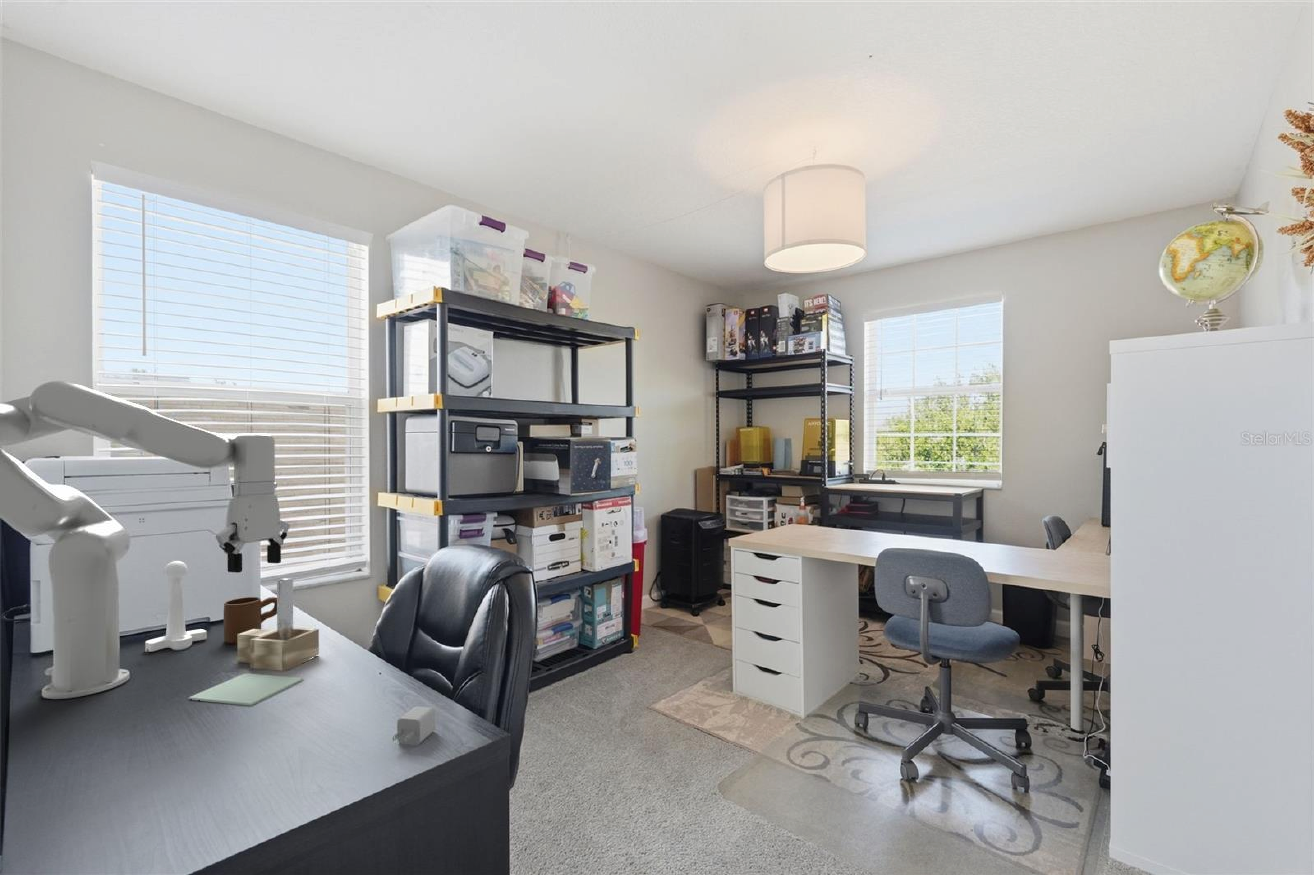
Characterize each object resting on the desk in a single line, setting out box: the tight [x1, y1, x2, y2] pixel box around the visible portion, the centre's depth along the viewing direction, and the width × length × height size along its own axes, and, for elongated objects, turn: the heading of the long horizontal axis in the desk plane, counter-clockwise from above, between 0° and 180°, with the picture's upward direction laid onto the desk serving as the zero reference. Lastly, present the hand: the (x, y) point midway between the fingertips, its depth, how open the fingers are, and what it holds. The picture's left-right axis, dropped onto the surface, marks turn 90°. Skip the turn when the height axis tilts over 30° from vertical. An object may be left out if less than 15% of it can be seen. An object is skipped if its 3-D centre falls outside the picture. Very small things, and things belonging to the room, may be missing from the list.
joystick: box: [144, 560, 208, 653], centre depth 143 cm, size 11×8×20 cm
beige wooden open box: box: [237, 627, 320, 672], centre depth 132 cm, size 15×9×6 cm, turn 77°
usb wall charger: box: [392, 706, 436, 746], centre depth 96 cm, size 4×7×4 cm, turn 170°
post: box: [276, 577, 294, 640], centre depth 132 cm, size 3×3×18 cm
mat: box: [188, 672, 304, 707], centre depth 117 cm, size 14×12×1 cm
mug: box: [223, 596, 277, 645], centre depth 149 cm, size 12×8×9 cm, turn 134°
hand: (255, 567), depth 133 cm, fingers open, 9 cm apart
